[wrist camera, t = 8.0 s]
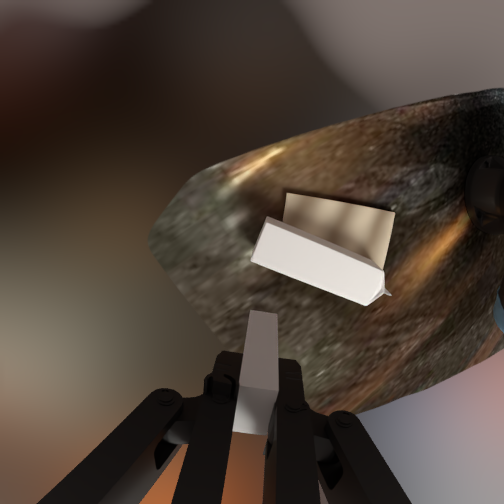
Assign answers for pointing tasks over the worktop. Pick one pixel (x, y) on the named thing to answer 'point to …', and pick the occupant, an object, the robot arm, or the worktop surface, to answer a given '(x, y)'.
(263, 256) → the white carton-shaped block
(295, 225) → the board
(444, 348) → the worktop surface
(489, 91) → the worktop surface
